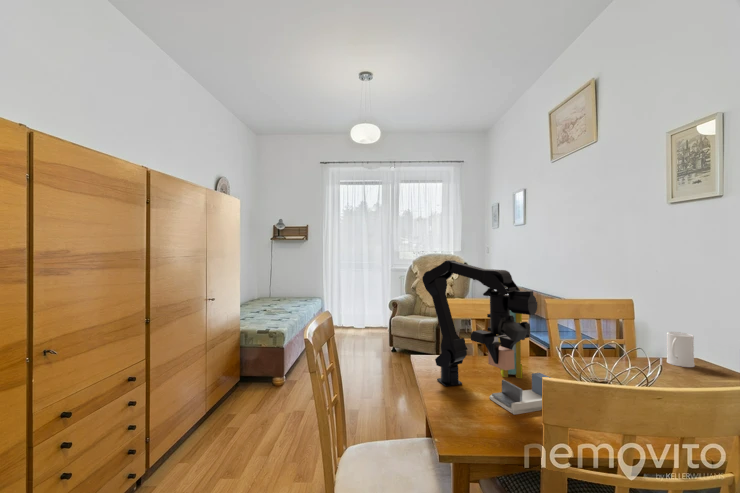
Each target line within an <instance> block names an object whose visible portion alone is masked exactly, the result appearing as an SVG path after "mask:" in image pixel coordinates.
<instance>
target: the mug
mask: <svg viewBox="0 0 740 493" xmlns="http://www.w3.org/2000/svg"><path fill="white" fill-rule="evenodd" d="M694 337H695V336H694V335H693V334H691V333H688V332H687V333H686V332H681V331H668V332H666V349H667V350H666V356H667V357H666V364H667V363H668V364H670V365H671V366H672V365H673V366H676V367H682V368H694V367H696V364H695V354H694V352H695V346H694V345H695V344H694V343H695V342H694V341H695V340H694Z"/></svg>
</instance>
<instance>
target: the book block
mask: <svg viewBox="0 0 740 493" xmlns="http://www.w3.org/2000/svg"><path fill="white" fill-rule="evenodd" d="M487 354H488V355H487V356H488V365H490V366H493V367H496V368H498V369H499V370H500V369H503V370H511V369H515V368H514V350H512V349H509V348H505V347H502V346H499V360H498V364H495V363H494V361H493V359H492V357H491V355H490V353H489V351H488V350H487Z"/></svg>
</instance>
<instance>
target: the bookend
mask: <svg viewBox="0 0 740 493" xmlns="http://www.w3.org/2000/svg"><path fill="white" fill-rule="evenodd" d="M522 391H523V388H520V387H519V386H517V385H515V384H514V383H511V382H510V381H507V380H505V379H501V392H500V391H499V392H493V393H491V395H492V396H493V397H495V398H496V399H498V400H500V401H501V402H503V403H504V404H506V405H508V406H509V407H511V406H512V403H515V402H522Z"/></svg>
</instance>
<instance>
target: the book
mask: <svg viewBox="0 0 740 493" xmlns="http://www.w3.org/2000/svg"><path fill="white" fill-rule="evenodd" d="M510 315H513V317H514V322H516V323H521V322H523V321H522V320H523V318H522V317H523V314H518V313H513V312H512V311H511V310H510ZM497 335H498V334H497ZM521 341H522V340H520V341H519V342H517V343H516V344H515V345H514V346H513V348H512V350H514V368H515V369H511V370H503V369H500V368H499V370H500V375H501V377H502V378H509V375H514V376H515V377H516V379H523V363H521V362H522V358H521V357H522V356H521V352H522V347H521V343H522V342H521ZM498 342H500V338H498ZM500 346H501V345H500Z"/></svg>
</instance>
